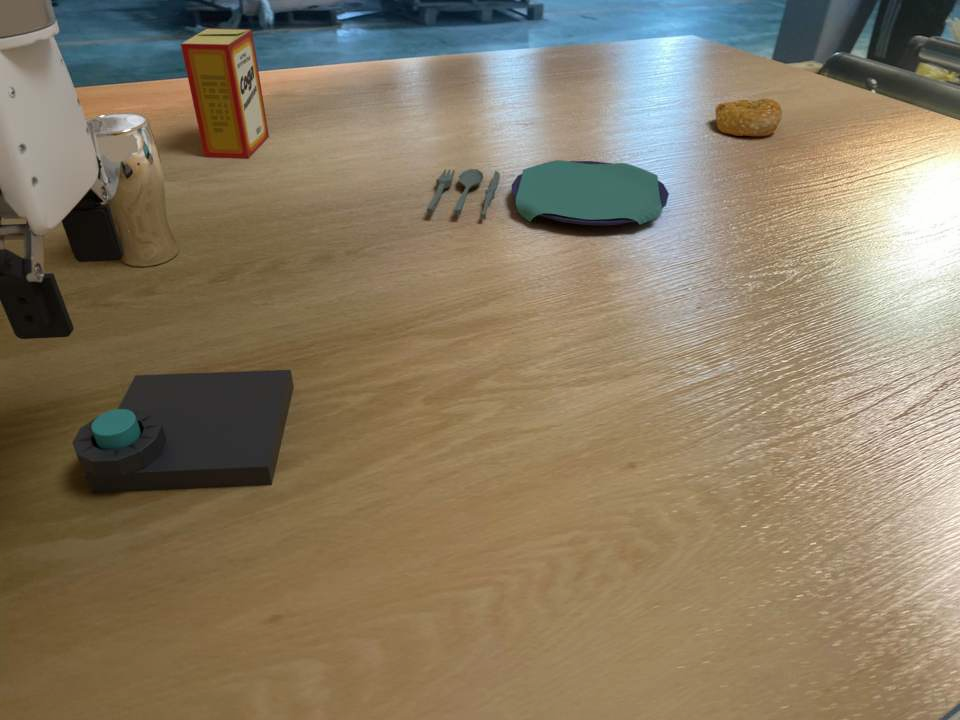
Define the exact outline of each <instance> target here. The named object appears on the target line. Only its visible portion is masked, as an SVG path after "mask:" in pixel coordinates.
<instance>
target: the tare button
mask: <svg viewBox="0 0 960 720" xmlns="http://www.w3.org/2000/svg"><path fill="white" fill-rule="evenodd" d="M99 415H100V416H99ZM99 415H97V416H96V417H97V418H96V417H95V418H96V419H95V418H94V419H95V420H94V421H93V423H92V426H91V429H92V432H93V435H94V437H95V440H96V442H97V445H98V446H99V447H100V448H101V449H103V450H117V449H120V448H122V447H125V446H128V445H131V444H132V443H133V442H134V441H136V440H137V439H138V438H139V437H140V434H141V431H140V428H139V425H138V422H137V419H136V416H135V414H134V413H133V412H132V411H130V410H126V409H118V408H116V409H112V410H108V411H105V412H103V413H102V414H99Z"/></svg>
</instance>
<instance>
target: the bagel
mask: <svg viewBox="0 0 960 720" xmlns="http://www.w3.org/2000/svg"><path fill="white" fill-rule="evenodd" d="M714 112H715V120H716V121H715V123H716V127H717V129H718V130H719V131H720V132H721V133H724V134H727V135H733V136H736V137H737V136H739V137H743V136H744V137H767V136H771V135H772V134H773V133H774V132H775V131H776V130H777V128H778V126H779V125H780V123H781V120H782V118H783V115H782V114H783V110H782V106H781V105H780V103H779V102H777V101H776V100H774V99H771V98H759V99H757V100H748V99H740V100H739V99H738V100H737V101H730V102H722V103H719V104H718V105H717V106H716V107H715V109H714Z"/></svg>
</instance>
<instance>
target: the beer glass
mask: <svg viewBox="0 0 960 720" xmlns="http://www.w3.org/2000/svg"><path fill="white" fill-rule="evenodd" d="M86 122H87V123H89V124H91V125H92V127H93V131H94V139H95V148H96V156H97V157H98V158H99V160H100V161H101V163H100V165H102V168H101V175H100V181H101V182H102V183H103V184H104V185H105V186H106V188H107V191H108V201H107V202H104V203H103V204H109V206H110V210H111V213H112V216H113V219H114V223H115V226H116V229H117V232H118V235H119V239H120V242H121V245H122V248H123V251H124V255H123V257H122V258H121V260H122V262H123V263H124V264H126V265H128V266H131V267H137V268H145V267H153V266H157V265H162V264H165V263H167V262H169V261H171V260H173V259H174V258H175V257H176V256H177V255H178V253H179V245H178V243H177V241H176V239H175V236H174V235H173V233H172V230H171V228H170V225H169V220H168V216H167V207H166V190H165V189H166V188H165V177H164V170H163V165H162V161H161V156H160V153H159V149H158V145H157V143H156V140H155V137H154V134H153V131H152V128H151V125H150V122H149V118H148V116H146V114H145V115H144V114H142V113H137V112H113V113H105V114H100V115H98V116H93V117H91V118H88V119H86Z"/></svg>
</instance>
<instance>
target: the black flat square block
mask: <svg viewBox="0 0 960 720" xmlns="http://www.w3.org/2000/svg"><path fill="white" fill-rule="evenodd" d="M294 387H295V386H294V380H293V375H292V370H291V369H273V370H272V369H270V370H269V369H267V370H246V371H245V370H244V371H243V370H241V371H217V372H215V371H213V372H189V373H188V372H187V373H162V374H161V373H160V374H158V373H157V374H136V375H134V377H133V379H132V381H131V382H130V385H129V387H128V388H127V391H126V392H125V394H124V396H123V398H122V400H121V402H120V404H119V406H118V408H117V409H126V410H130V411H132V412H133V413H134V414H135V416H136V419H137V422H138V425H139V428H140V431H141V434H140V437H139V438H138V439H137V440H136V441H134V442H133V443H132V444H131V445H128V446H125V447H122V448H120V449H117V450H103V449H101V448H100V447H99V446H98V445H97V442H96V440H95V437H94V435H93V432H92V429H91V426H92V423H93V421H94V420H95V419H96V418H97V417H98V416H100V415H101V414H99V415H98V416H96V417H94V418H93V419H91V420H90V421H89V422H88V423H86V424H84V425H82V427H80V428H79V430H78V431H77V433H76V436H74V439H73V441H72V446H73V448H74V451H75V454H76V457H77V460H78V462H79V464H80V466H81V469H82V470H83V472H84V477H85V479H86V482H87V484H88V487H89V489H90V492H91V494H99V493H119V492H142V491H143V492H145V491H163V490H164V491H165V490H186V489H208V488H209V489H210V488H211V489H212V488H229V487H230V488H231V487H253V486H256V487H257V486H272V485H273V483H274V482H273V481H274V477H275V473H276V468H277V465H278V464H277V463H278V461H279V455H280V451H281V446H282V442H283V437H284V432H285V428H286V423H287V419H288V416H289V415H288V413H289V410H290V405H291V400H292V397H293V392H294Z"/></svg>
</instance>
